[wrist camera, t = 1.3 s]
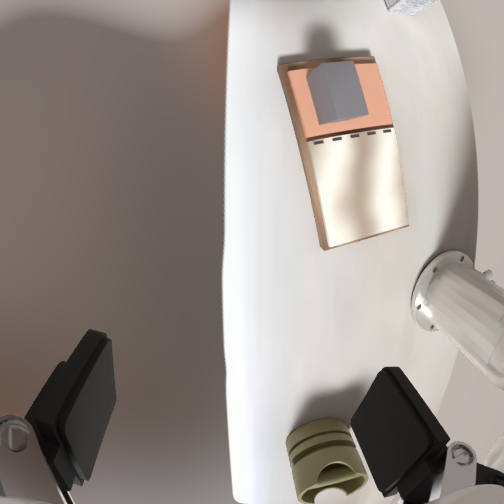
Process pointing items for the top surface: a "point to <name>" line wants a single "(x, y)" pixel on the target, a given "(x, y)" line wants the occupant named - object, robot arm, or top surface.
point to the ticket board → (349, 173)
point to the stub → (339, 97)
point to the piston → (324, 459)
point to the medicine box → (407, 6)
